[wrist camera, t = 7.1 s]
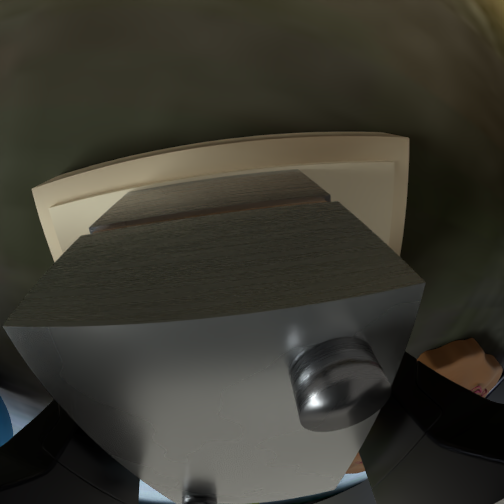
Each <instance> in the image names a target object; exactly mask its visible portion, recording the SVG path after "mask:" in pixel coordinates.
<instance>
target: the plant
mask: <svg viewBox="0 0 504 504" xmlns="http://www.w3.org/2000/svg"><path fill="white" fill-rule="evenodd" d="M418 360H419V361H420V362H422V363H423V364H425V365H426V366H428V367H430V368H431V369H433V370H434V371H436V372H437V373H439V374H441V375H442V376H444V377H446V378H448V379H450V380H451V381H453V382H455V383H457V384H459V385H461V386H463V387H464V388H466V389H468V390H470V391H472V392H474V393H476V394H478V395H480V396H482V397H484V398H485V397H486V395H487V394H488V393H489V391H490V390H491V389H492V388H493V387H494V386H495V385H496V383H497V382H498V380H499V378H500V376H501V374H502V367H501V365H500V364H499V363H498V361H497V360H496V359H495V357H494V356H492V355H489V354H485V353H484V351H483V349H482V348H481V347H480V345H479V344H478V343H477V342H476V340H475V339H474V338H469V339H466V340H457V341H453V342H450V343H448V344H446V345H444V346H442V347H440V348H437V349H433V350H429V351H425V352H424V353H422V354H421V355H420V357H419V358H418V359H417V361H418ZM363 471H365V468H364V465H363V463H362V460H361V457H360V454H359V452H358V453H357V455H356V456H355V458H354V460H353V462H352V463H351V465H350V466H349V468H348V470H347V471H346V474H350V473H352V474H353V473H359V472H363Z"/></svg>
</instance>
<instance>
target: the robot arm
mask: <svg viewBox="0 0 504 504" xmlns="http://www.w3.org/2000/svg"><path fill="white" fill-rule="evenodd" d="M391 388H392V392H391V395H390V398H389V399H388V401H387V402H386V403H385V405H384V406H383V407H382V408H381V409H380V411H379V414H378V416H377V418H376V420H375V422H374V424H373V426H372V427H371V429H370V431H369V433H368V435H367V437H366V439H365V441H364V442H363V444H362V446H361V448H360V450H359V451H358V452H359V454H360V457H361V460H362V463H363V465H364V468H365V471H366V474H367V477H368V479H369V482H370V485H371V487H372V491H373V494H374V497H375V500H376V503H377V504H504V404H500V403H496V402H493V401H490V400H488V399H486V398H484V397H482V396H480V395H478V394H476V393H474V392H472V391H470V390H468V389H466V388H464V387H463V386H461V385H459V384H457V383H455V382H453V381H451V380H450V379H448V378H446V377H444V376H442V375H441V374H439V373H437V372H436V371H434V370H433V369H431V368H430V367H428V366H426V365H425V364H423V363H422V362H420V361H419V360H418V361H417V359H416V358H414V357H413V356H411V355H410V354H408V353H407V352H404V355H403V357H402V360H401V363H400V365H399V368H398V370H397V373H396V375H395V378H394V380H393V383H392V385H391ZM139 482H140V479H139V478H138V477H137V476H135V475H134V474H133V473H131V472H130V471H129V470H128V469H126V468H125V467H124V466H123V465H121V464H120V463H119V462H118V461H116V460H115V459H114V458H113V457H112V456H111V455H109V454H108V453H107V452H106V451H105V450H104V449H103V448H101V447H100V446H99V445H98V444H97V443H96V442H95V441H94V440H93V439H92V438H91V437H90V436H89V435H88V434H87V433H86V432H85V431H83V430H82V429H81V428H80V426H79V425H78V424H77V423H76V422H75V421H74V420H73V419H72V418H71V417H70V416H69V415H68V414H67V413H66V412H65V411H64V410H63V408H62V407H61V406H60V405H59V404H58V403H57V402H56V400H55V399H54V400H53V401H52V402H51V403H50V404H49V405H48V406H47V407H46V408H45V409H44V410H43V411H42V412H41V413H40V414H39V415H38V416H36V417H35V418H34V419H33V420H32V421H31V422H30V423H29V424H27V425H26V426H25V427H24V428H23V429H22V430H20V431H19V432H18V433H17V434H16V435H15V436H13V437H12V438H11V439H10V440H9V441H8V442H6V443H5V444H4V445H2V446H0V504H138V499H139Z"/></svg>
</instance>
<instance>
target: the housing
mask: <svg viewBox="0 0 504 504" xmlns="http://www.w3.org/2000/svg"><path fill="white" fill-rule="evenodd" d="M89 231H90V234H87V235H82V236H80V237H79V238H78V239H77V240H76V241H75V242H74V243H73V244H72V245H71V246H70V247H69V248H68V249H67V250H66V251H65V252H64V253H63V254H62V255H61V256H60V257H59V259H58V260H57V261H56V262H55V263H54V264H53V265H52V266H51V267H50V268H49V269H48V271H47V272H46V273H45V274H44V275H43V276H42V277H41V278H40V280H39V281H38V282H37V283H36V284H35V285H34V287H33V288H32V289H31V290H30V291H29V293H28V294H27V295H26V296H25V297H24V299H23V300H22V301H21V302H20V304H19V305H18V306H17V307H16V309H15V310H14V311H13V313H12V314H11V315H10V317H9V318H8V319H7V321H6V322H5V323H4V325H3V328H4V330H5V331H6V333H7V335H8V336H9V338H10V339H11V341H12V343H13V344H14V346H15V347H16V349H17V350H18V352H19V353H20V355H21V356H22V358H23V359H24V360H25V362H26V363H27V365H28V366H29V368H30V369H31V370H32V372H33V373H34V374H35V376H36V377H37V378H38V380H39V381H40V382H41V383H42V385H43V386H44V387H45V388H46V390H47V391H48V392H49V393H50V395H51V396H52V397H53V398H54V399H55V400H56V402H57V403H58V404H59V405H60V406H61V407H62V408H63V410H64V411H65V412H66V413H67V414H68V415H69V416H70V417H71V418H72V419H73V420H74V421H75V422H76V423H77V424H78V425H79V426H80V428H81V429H82V430H83V431H85V432H86V433H87V434H88V435H89V436H90V437H91V438H92V439H93V440H94V441H95V442H96V443H97V444H98V445H99V446H100V447H101V448H103V449H104V450H105V451H106V452H107V453H108V454H109V455H111V456H112V457H113V458H114V459H115V460H116V461H118V462H119V463H120V464H121V465H123V466H124V467H125V468H126V469H128V470H129V471H130V472H131V473H133V474H134V475H135V476H137V477H138V478H139V479H141V480H142V481H143V482H145V483H146V484H148V485H149V486H150V487H152V488H153V489H155V490H156V491H158V492H159V493H161V494H162V495H164V496H165V497H167V498H168V499H170V500H172V501H173V502H175V503H176V504H249V503H260V502H269V501H277V500H284V499H291V498H297V497H302V496H308V495H313V494H317V493H322V492H326V491H330V490H334V489H335V488H336V487H337V485H338V484H339V482H340V481H341V479H342V478H343V476H344V474H345V473H346V471H347V470H348V468H349V466H350V465H351V463H352V462H353V460H354V458H355V456H356V455H357V453H358V451H359V450H360V448H361V446H362V444H363V442H364V441H365V439H366V437H367V435H368V433H369V431H370V429H371V427H372V426H373V424H374V422H375V420H376V418H377V416H378V414H379V411H380V409H381V408H382V407H383V406H384V405H385V403H386V402H387V401H388V399H389V398H390V395H391V392H392V388H391V385H392V383H393V380H394V378H395V375H396V373H397V370H398V368H399V365H400V363H401V360H402V357H403V355H404V352H405V349H406V346H407V344H408V341H409V338H410V335H411V332H412V329H413V326H414V322H415V319H416V316H417V313H418V309H419V306H420V302H421V298H422V295H423V291H424V287H425V283H426V282H425V281H424V280H423V279H422V278H421V277H420V276H419V275H418V274H417V273H416V272H415V271H414V270H413V269H412V268H411V267H410V266H409V265H408V264H407V263H406V262H405V261H404V260H403V259H402V258H401V257H400V256H399V255H397V254H396V253H395V252H394V251H393V250H392V249H391V248H390V247H389V246H388V245H387V244H386V243H385V242H384V241H383V240H382V239H380V238H379V237H378V236H377V235H376V234H375V233H374V232H373V231H372V230H371V229H369V228H368V227H367V226H366V225H365V224H364V223H363V222H362V221H360V220H359V219H358V218H357V217H356V216H355V215H354V214H352V213H351V212H350V211H349V210H348V209H347V208H345V207H344V206H343V205H342V204H341V203H339V202H338V201H334V202H331V195H330V194H329V193H327V192H326V191H325V190H324V189H322V188H321V187H320V186H319V185H317V184H316V183H315V182H314V181H312V180H311V179H310V178H309V177H307V176H306V175H305V174H303V173H302V172H301V171H300V170H298V169H293V170H281V171H270V172H260V173H251V174H242V175H233V176H225V177H218V178H210V179H203V180H196V181H190V182H183V183H177V184H171V185H165V186H159V187H153V188H148V189H143V190H137V191H132V192H128V193H127V194H125V195H124V196H123V197H122V198H121V199H120V200H119V201H117V202H116V203H115V204H114V205H113V206H112V207H111V208H110V209H108V210H107V211H106V212H105V213H104V214H103V215H102V216H101V217H100V218H99V219H98V220H96V221H95V222H94V223H93V224H92V225H91V226H90V227H89Z"/></svg>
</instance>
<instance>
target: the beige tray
mask: <svg viewBox="0 0 504 504" xmlns="http://www.w3.org/2000/svg"><path fill="white" fill-rule="evenodd" d="M293 169H298V170H300V171H301V172H302V173H303V174H305V175H306V176H307V177H309V178H310V179H311V180H312V181H314V182H315V183H316V184H317V185H319V186H320V187H321V188H322V189H324V190H325V191H326V192H327V193H329V194H330V195H331V202H334V201H338V202H339V203H341V204H342V205H343V206H344V207H345V208H347V209H348V210H349V211H350V212H351V213H352V214H354V215H355V216H356V217H357V218H358V219H359V220H360V221H362V222H363V223H364V224H365V225H366V226H367V227H368V228H369V229H371V230H372V231H373V232H374V233H375V234H376V235H377V236H378V237H379V238H380V239H382V240H383V241H384V242H385V243H386V244H387V245H388V246H389V247H390V248H391V249H392V250H393V251H394V252H395V253H396V254H397V255H399V256H400V253H401V246H402V239H403V231H404V222H405V213H406V202H407V189H408V171H409V138H408V137H403V136H398V135H393V134H388V133H383V132H304V133H286V134H272V135H260V136H249V137H240V138H231V139H223V140H215V141H208V142H201V143H195V144H189V145H183V146H177V147H171V148H166V149H161V150H156V151H151V152H146V153H141V154H137V155H132V156H128V157H123V158H119V159H115V160H111V161H107V162H103V163H100V164H96V165H92V166H89V167H85V168H82V169H78V170H75V171H71V172H68V173H65V174H62V175H59V176H56V177H54V178H52V179H50V180H48V181H46V182H44V183H42V184H40V185H38V186H36V187H34V188H32V192H33V196H34V200H35V204H36V207H37V211H38V214H39V218H40V221H41V224H42V227H43V230H44V233H45V236H46V239H47V242H48V245H49V248H50V251H51V253H52V256H53V259H54V261H55V262H56V261H57V260H58V259H59V257H60V256H61V255H62V254H63V253H64V252H65V251H66V250H67V249H68V248H69V247H70V246H71V245H72V244H73V243H74V242H75V241H76V240H77V239H78V238H79V237H80V236H82V235H87V234H90V231H89V227H90V226H91V225H92V224H93V223H94V222H95V221H96V220H98V219H99V218H100V217H101V216H102V215H103V214H104V213H105V212H106V211H107V210H108V209H110V208H111V207H112V206H113V205H114V204H115V203H116V202H117V201H119V200H120V199H121V198H122V197H123V196H124V195H125V194H127V193H128V192H132V191H137V190H143V189H148V188H153V187H159V186H165V185H171V184H177V183H183V182H190V181H196V180H203V179H210V178H218V177H225V176H233V175H242V174H251V173H260V172H270V171H281V170H293Z"/></svg>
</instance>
